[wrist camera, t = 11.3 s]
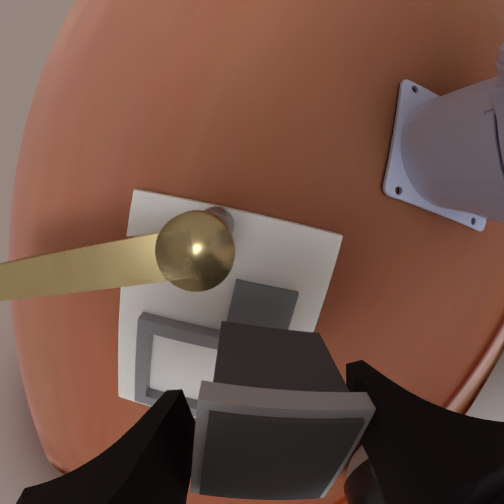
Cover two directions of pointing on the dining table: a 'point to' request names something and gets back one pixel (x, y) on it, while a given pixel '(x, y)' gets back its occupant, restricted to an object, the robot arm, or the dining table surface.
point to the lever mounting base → (211, 296)
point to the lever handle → (130, 261)
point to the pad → (262, 305)
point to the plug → (274, 417)
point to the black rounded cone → (362, 481)
